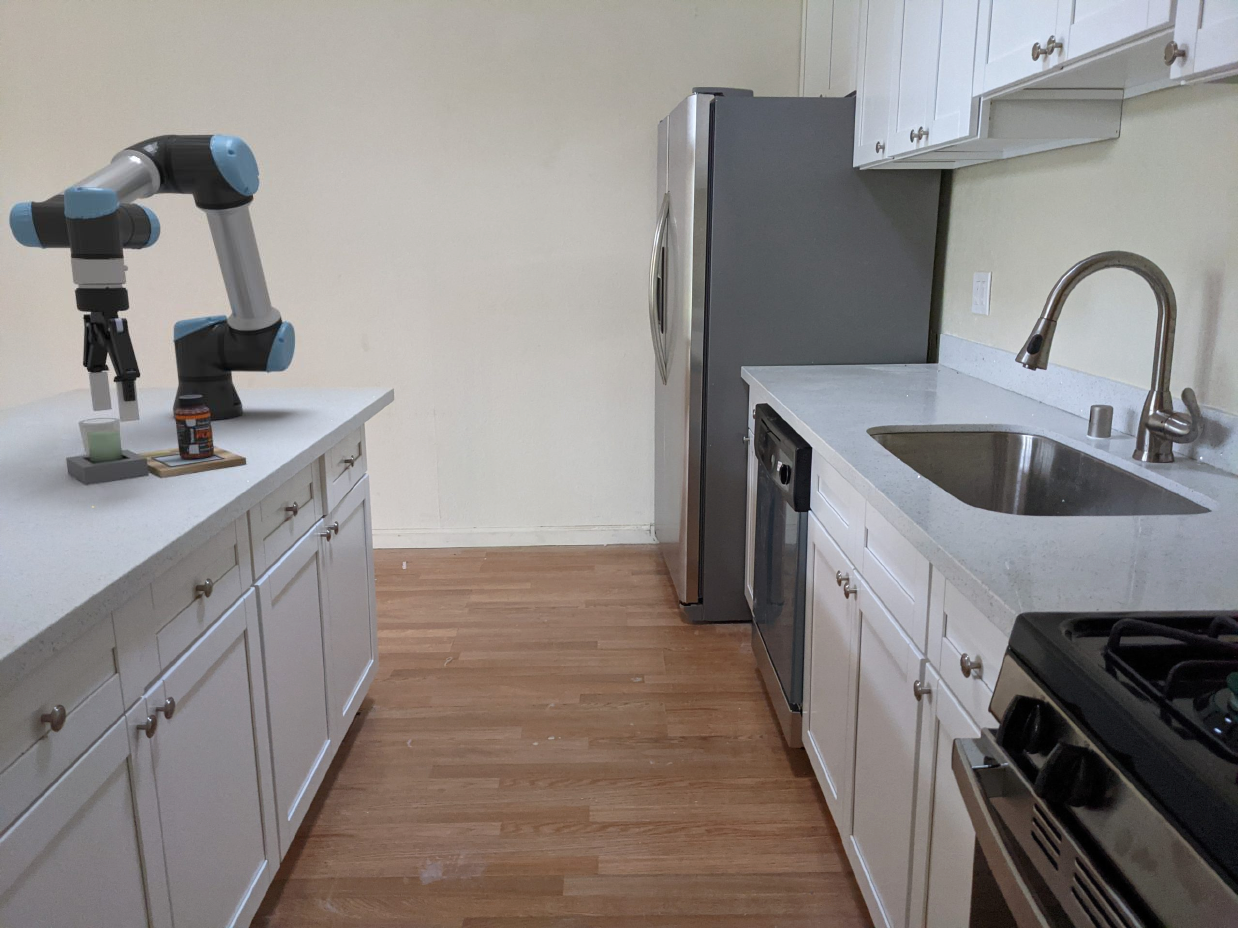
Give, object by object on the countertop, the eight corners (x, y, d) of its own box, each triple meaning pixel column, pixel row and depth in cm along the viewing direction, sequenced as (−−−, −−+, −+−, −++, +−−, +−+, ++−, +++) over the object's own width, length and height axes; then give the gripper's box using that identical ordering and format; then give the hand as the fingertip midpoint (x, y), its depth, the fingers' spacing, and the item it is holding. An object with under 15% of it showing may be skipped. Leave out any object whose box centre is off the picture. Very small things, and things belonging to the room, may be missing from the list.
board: (128, 461, 173) (127, 454, 172) (209, 449, 183) (208, 443, 183) (161, 477, 161) (161, 470, 161) (246, 464, 171) (245, 457, 171)
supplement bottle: (202, 460, 168) (195, 399, 166) (172, 459, 169) (165, 398, 167) (221, 452, 174) (214, 393, 171) (192, 451, 175) (185, 393, 172)
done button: (86, 460, 162) (83, 432, 161) (117, 456, 166) (114, 429, 164) (95, 465, 159) (92, 437, 157) (126, 461, 162) (123, 433, 161)
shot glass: (82, 462, 172) (77, 425, 170) (83, 454, 178) (79, 418, 176) (123, 458, 175) (119, 422, 173) (123, 451, 181) (119, 416, 179)
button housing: (68, 474, 163) (66, 457, 162) (128, 465, 170) (127, 449, 169) (86, 484, 156) (83, 467, 155) (148, 475, 163) (146, 458, 162)
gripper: (153, 288, 144) (167, 422, 148) (101, 283, 161) (115, 403, 166) (100, 289, 138) (116, 428, 143) (52, 284, 155) (68, 408, 160)
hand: (115, 415), depth 154 cm, fingers open, 13 cm apart
